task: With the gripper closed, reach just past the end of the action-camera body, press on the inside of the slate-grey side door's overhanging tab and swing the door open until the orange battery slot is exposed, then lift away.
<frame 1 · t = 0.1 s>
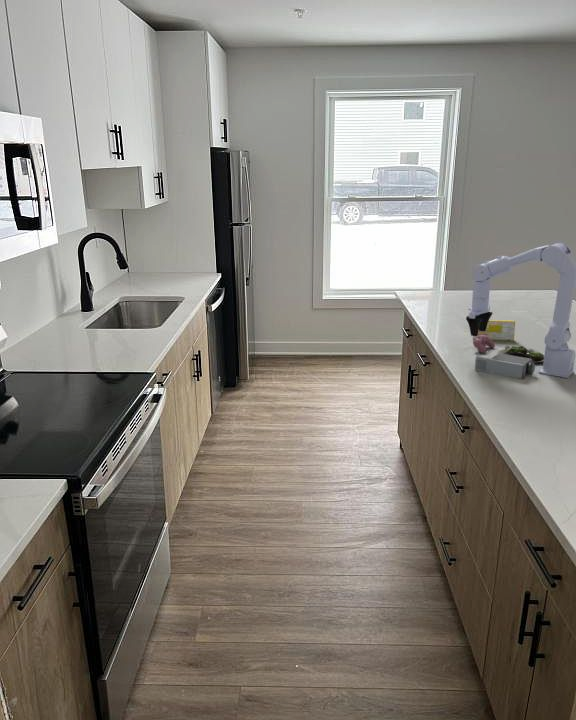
hand: (478, 333, 218), 10 cm above the worktop, tool pointing down, fingers open, 7 cm apart
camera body: (510, 372, 206), on the worktop
side door: (499, 367, 203), point 3 cm above the worktop, hinge at 0.0°
video game controller: (483, 350, 232), on the worktop
salad plate: (521, 360, 220), on the worktop
candy box: (492, 340, 245), on the worktop
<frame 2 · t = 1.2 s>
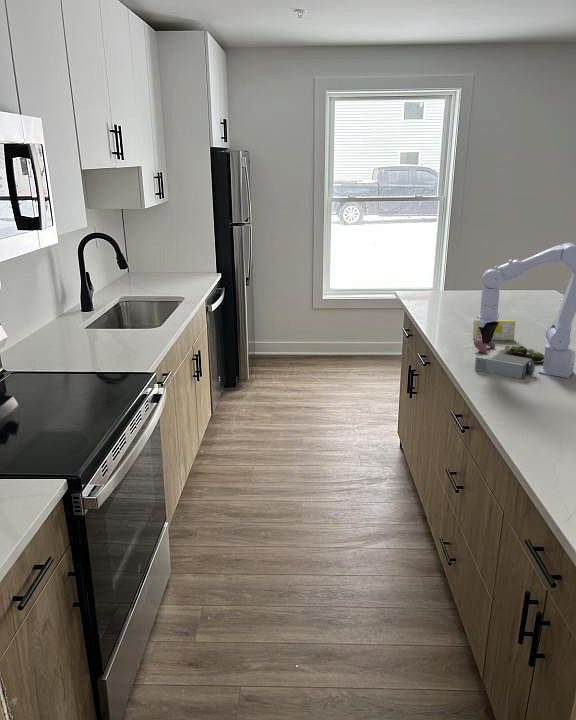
hand: (486, 342, 207), 10 cm above the worktop, tool pointing down, fingers closed
nothing on the worktop moved.
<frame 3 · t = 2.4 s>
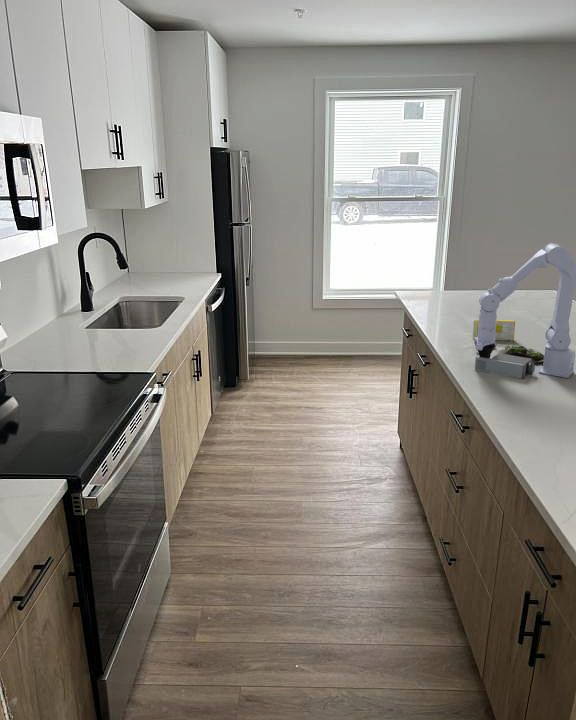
hand: (484, 364, 209), 2 cm above the worktop, tool pointing down, fingers closed
side door: (499, 367, 203), point 3 cm above the worktop, hinge at 0.3°, touching gripper
everything else where it was.
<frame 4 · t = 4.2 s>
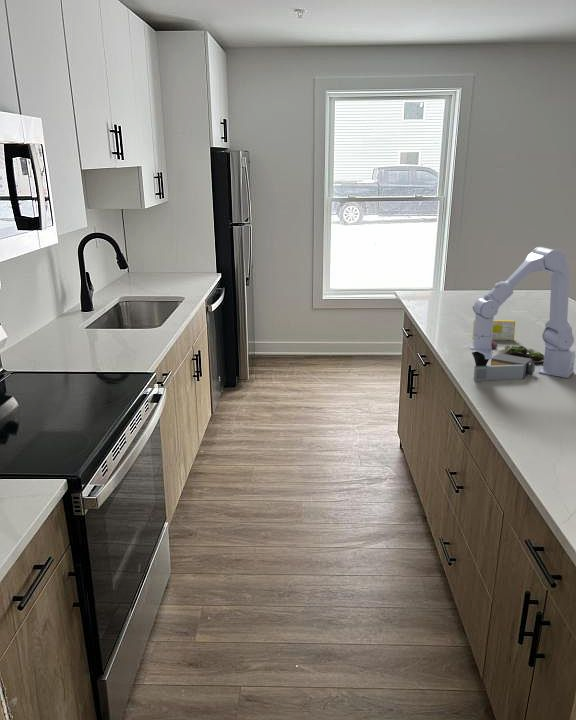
hand: (480, 372, 201), 2 cm above the worktop, tool pointing down, fingers closed
side door: (500, 372, 199), point 3 cm above the worktop, hinge at 39.8°, touching gripper
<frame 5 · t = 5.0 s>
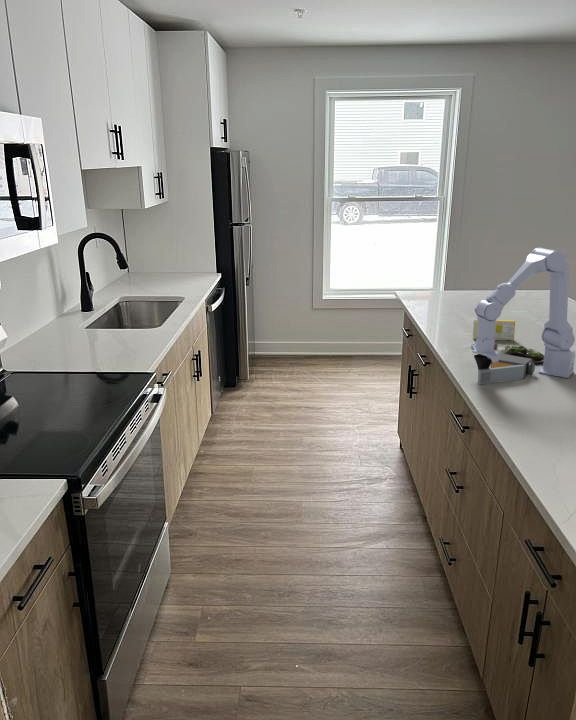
hand: (482, 375, 198), 2 cm above the worktop, tool pointing down, fingers closed
side door: (502, 374, 197), point 3 cm above the worktop, hinge at 52.1°, touching gripper
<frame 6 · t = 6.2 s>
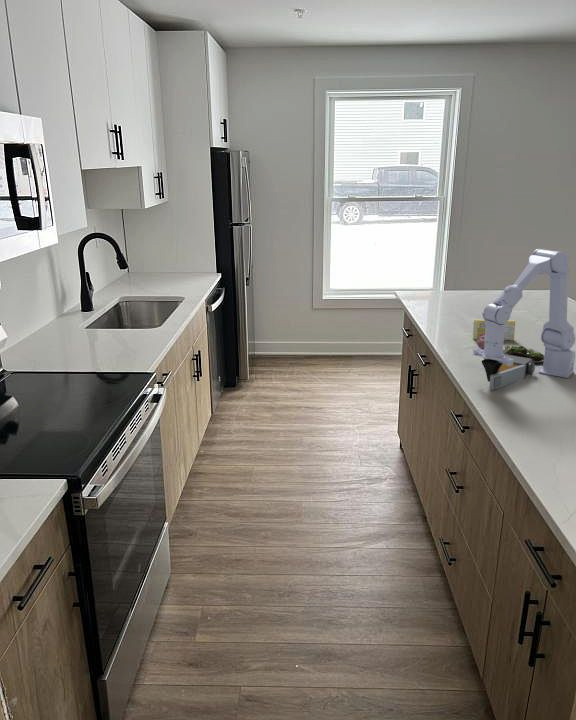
hand: (490, 380, 193), 2 cm above the worktop, tool pointing down, fingers closed
side door: (509, 376, 194), point 3 cm above the worktop, hinge at 72.5°, touching gripper
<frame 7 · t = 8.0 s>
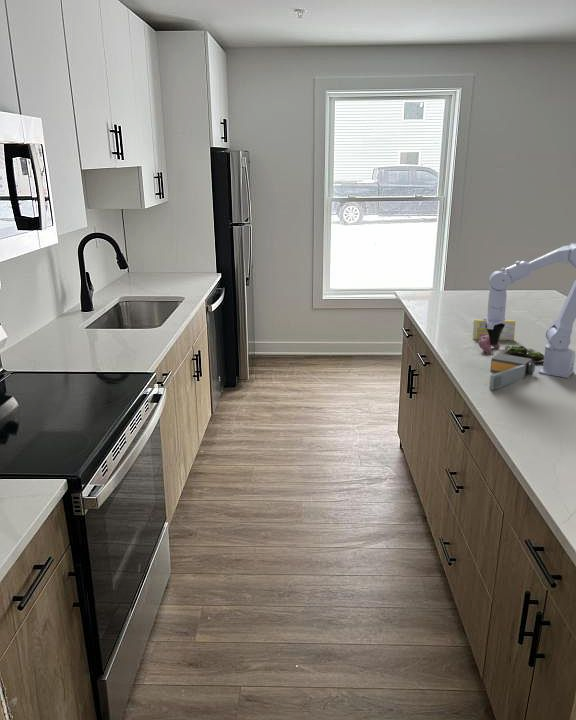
hand: (493, 344, 207), 9 cm above the worktop, tool pointing down, fingers closed
side door: (509, 376, 194), point 3 cm above the worktop, hinge at 72.5°
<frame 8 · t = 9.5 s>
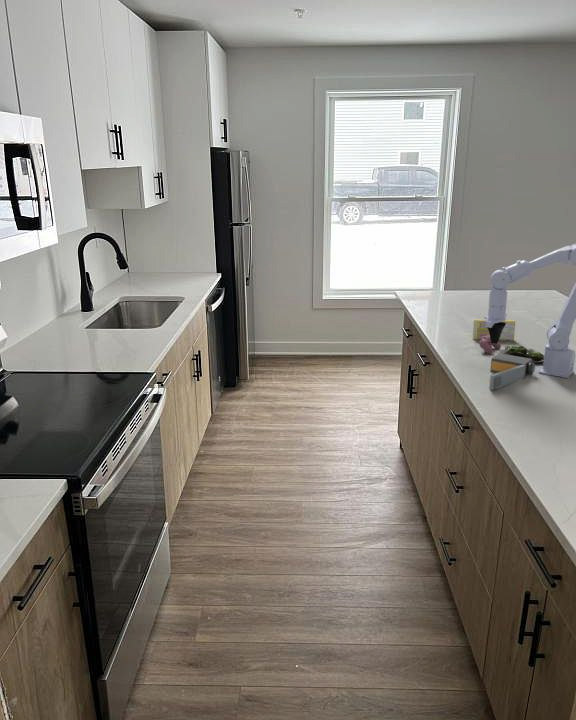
hand: (494, 342, 208), 9 cm above the worktop, tool pointing down, fingers closed
at the end: side door at +72° (first picture: +0°) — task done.
